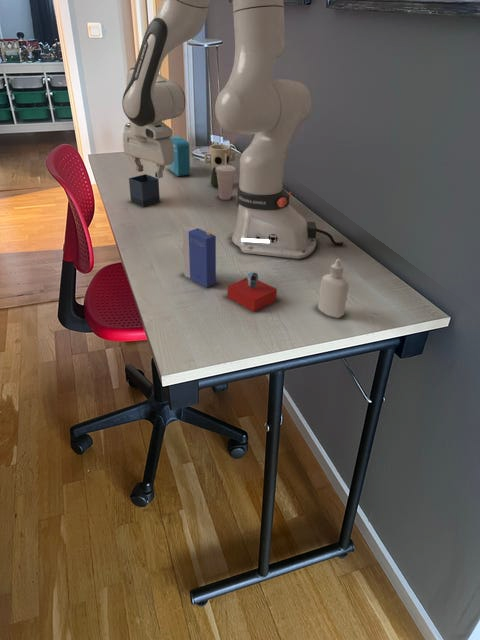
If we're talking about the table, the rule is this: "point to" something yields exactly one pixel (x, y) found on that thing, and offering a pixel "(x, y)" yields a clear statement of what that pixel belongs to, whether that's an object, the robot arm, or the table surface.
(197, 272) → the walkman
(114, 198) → the table surface
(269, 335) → the table surface
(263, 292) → the red slab
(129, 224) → the table surface
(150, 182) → the bin
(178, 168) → the data package
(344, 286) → the eye dropper bottle
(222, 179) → the smoothie
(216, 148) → the character mug
